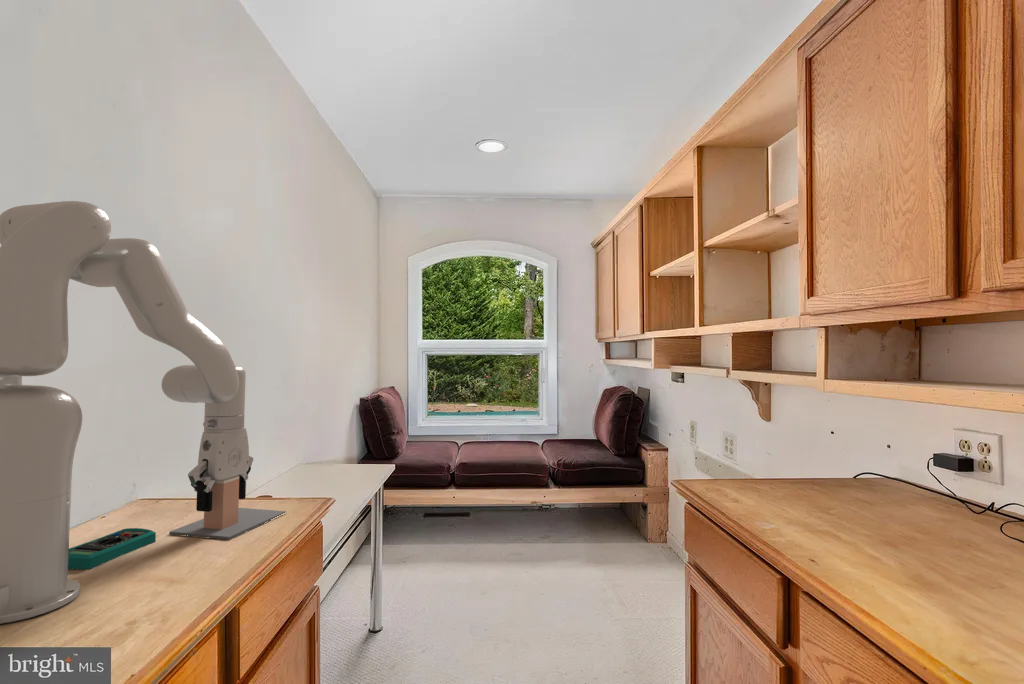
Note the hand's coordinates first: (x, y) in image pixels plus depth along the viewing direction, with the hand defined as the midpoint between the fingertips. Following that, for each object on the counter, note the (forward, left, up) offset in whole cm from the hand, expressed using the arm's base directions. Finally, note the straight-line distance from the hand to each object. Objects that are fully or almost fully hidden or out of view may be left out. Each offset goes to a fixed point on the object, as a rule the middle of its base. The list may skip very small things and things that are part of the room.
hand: (221, 504), depth 110 cm
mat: (+3, 0, -5) cm, 6 cm away
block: (0, 0, -4) cm, 4 cm away
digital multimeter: (-17, +9, -6) cm, 20 cm away
